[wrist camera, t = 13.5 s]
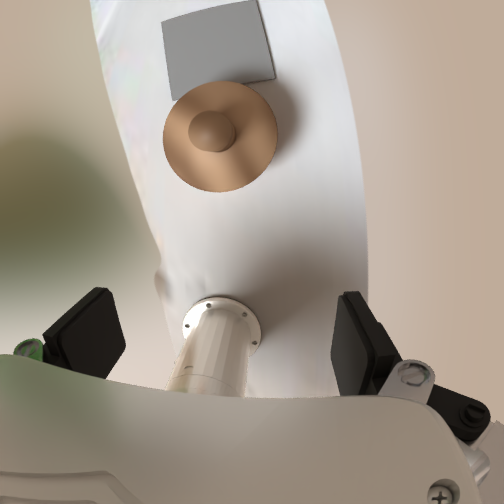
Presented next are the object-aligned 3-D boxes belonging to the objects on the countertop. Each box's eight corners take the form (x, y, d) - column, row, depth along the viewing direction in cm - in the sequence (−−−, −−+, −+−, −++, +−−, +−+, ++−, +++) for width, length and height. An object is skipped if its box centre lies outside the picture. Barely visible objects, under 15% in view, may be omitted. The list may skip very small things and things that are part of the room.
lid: (222, 213, 33) (212, 225, 27) (146, 143, 31) (122, 141, 25) (301, 134, 29) (308, 128, 24) (218, 63, 27) (208, 45, 21)
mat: (274, 78, 32) (275, 77, 31) (173, 100, 33) (172, 100, 33) (255, 1, 27) (255, -1, 27) (162, 23, 29) (161, 22, 29)
